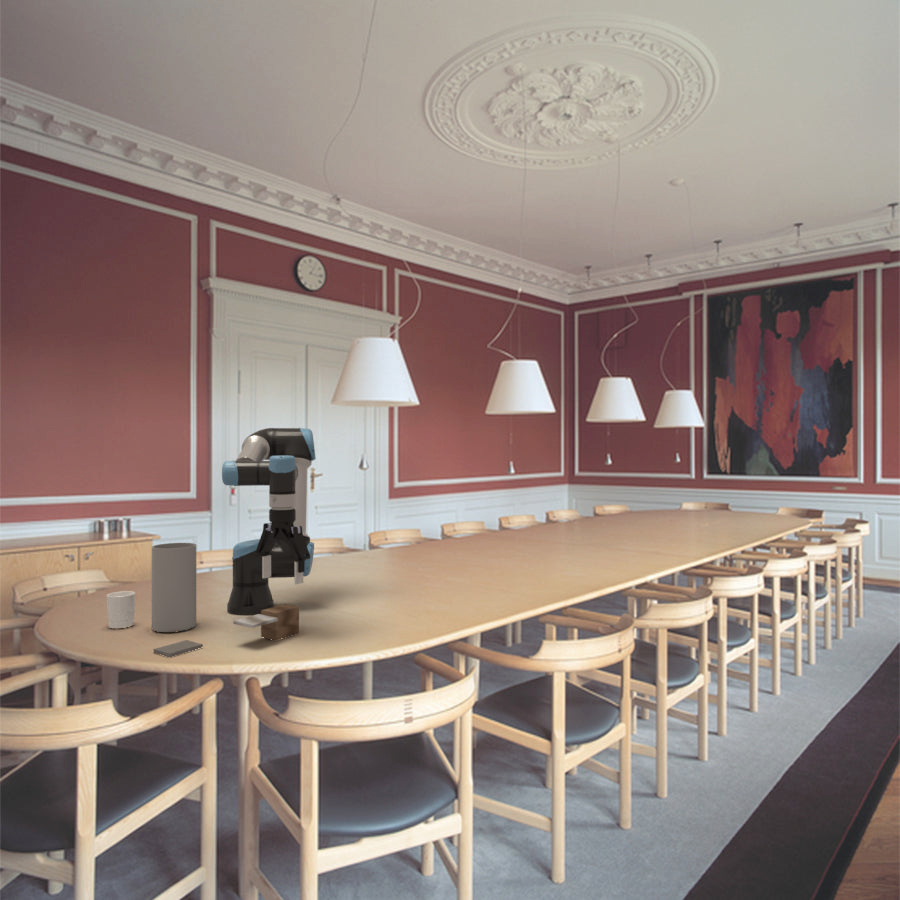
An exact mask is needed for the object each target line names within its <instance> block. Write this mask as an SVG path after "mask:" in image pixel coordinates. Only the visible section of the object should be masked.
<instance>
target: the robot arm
mask: <svg viewBox="0 0 900 900" xmlns="http://www.w3.org/2000/svg"><path fill="white" fill-rule="evenodd" d="M315 451H316V450H315V442H314V433H313V431H312V430H311V429H310V428H304V427H303V428H302V427H298V428H296V427H287V428H286V427H277V428H276V427H267V428H263V429H259V430H257V431H255V432H253V433H251V434H250V435H248V436H247V437H246V438H245V439H244V441H243V442H242V444H241V451H240V453H239V454H238V455H237V458H236V459H235V460H234V459H233V460H226V461H224V462H223V463H222V468H221V479H222V483H223V485H225V486H229V487H230V486H234V487H242V486H243V487H244V486H247V487H248V486H249V487H250V486H254V487H256V486H258V487H259V486H269V487H268V488H269V489H268V493H269V494H268V497H269V498H268V499H269V500H268V504H269V505H268V507H269V508H270V509H269V511H268V521H269V522H266V523H263V526H262V528H263V529H262V533H261V535H260V538H257V539H251V540H245V541H241V542H239V543H236V544H235V545H234V546H233V548H232V557H231V559H232V589H231V591H230V595H229V599H228V602H227V604H226V606H227V607H226V611H227V612H228V613H229V614H232V613H233V614H234V615H242V614H244V615H257V614H261V610H264V609H268V608H272V607H275V604H274V603H275V602H274V598H273V596H272V592H271V589H270V585H269V579H274V578H275V579H278V578H279V579H281V578H294V585H300V584H303V583H304V577H307V576H309V575H310V573H311V571H312V566H313V561H314V553H315V551H314V550H315V543H314V542H313V541H311V537H310V535H309V534H307V532H306V531H307V497H308V496H307V495H308V494H307V492H308V488H307V487H308V469H309V468H310V467H311V466H312V462H313V461H315V460H316V458H317V457H316V452H315ZM233 614H232V615H233ZM244 615H243V616H244Z"/></svg>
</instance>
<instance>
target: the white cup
mask: <svg viewBox="0 0 900 900" xmlns="http://www.w3.org/2000/svg"><path fill="white" fill-rule="evenodd" d="M106 608H107V611H106V612H107V619H108V628H109V627H110V628H124V627H128V626H131V625H133V626H134V618H135V608H136V592H135V591H133V590H132V591H129V590H123V591H115V592H110V593H108V594H106ZM110 628H109V629H110ZM124 629H125V628H124Z"/></svg>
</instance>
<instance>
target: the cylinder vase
mask: <svg viewBox="0 0 900 900" xmlns="http://www.w3.org/2000/svg"><path fill="white" fill-rule="evenodd" d="M196 626H197V544H196V543H194V542H169V543H160V544H155V545H153V546H151V629H152V631H154V632H155V631H158V632H157V633H159V632H175V633H177V632H176V631H182V632H184V631H183V630H186V631H188V630H187V629H189V630H192V629H194V628H195V627H196ZM191 628H192V629H191Z"/></svg>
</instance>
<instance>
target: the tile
mask: <svg viewBox="0 0 900 900" xmlns="http://www.w3.org/2000/svg"><path fill="white" fill-rule="evenodd" d="M203 645H204V644H203V643H200V642H196V641H193V640H192V641H191V640H187V639H185V640H181V641H177V642H174V643H171V644H168V645H163V646H160V647H157V648H153V654H154V653H157V654H156V655H158V654H161V655H164V656H163V657H165V656H167V657H166V658H168V657H171V658H173V657H172V656H174V657H176V656H175V655H178V656H180V655H179V654H181V655H183V654H182V653H184V654H186V653H185V652H188V651H191V652H193V651H192V650H194V651H196V650H195V649H198V648H201V647H203ZM201 649H202V648H201ZM198 650H199V649H198ZM188 653H189V652H188ZM161 655H160V656H161Z"/></svg>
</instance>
